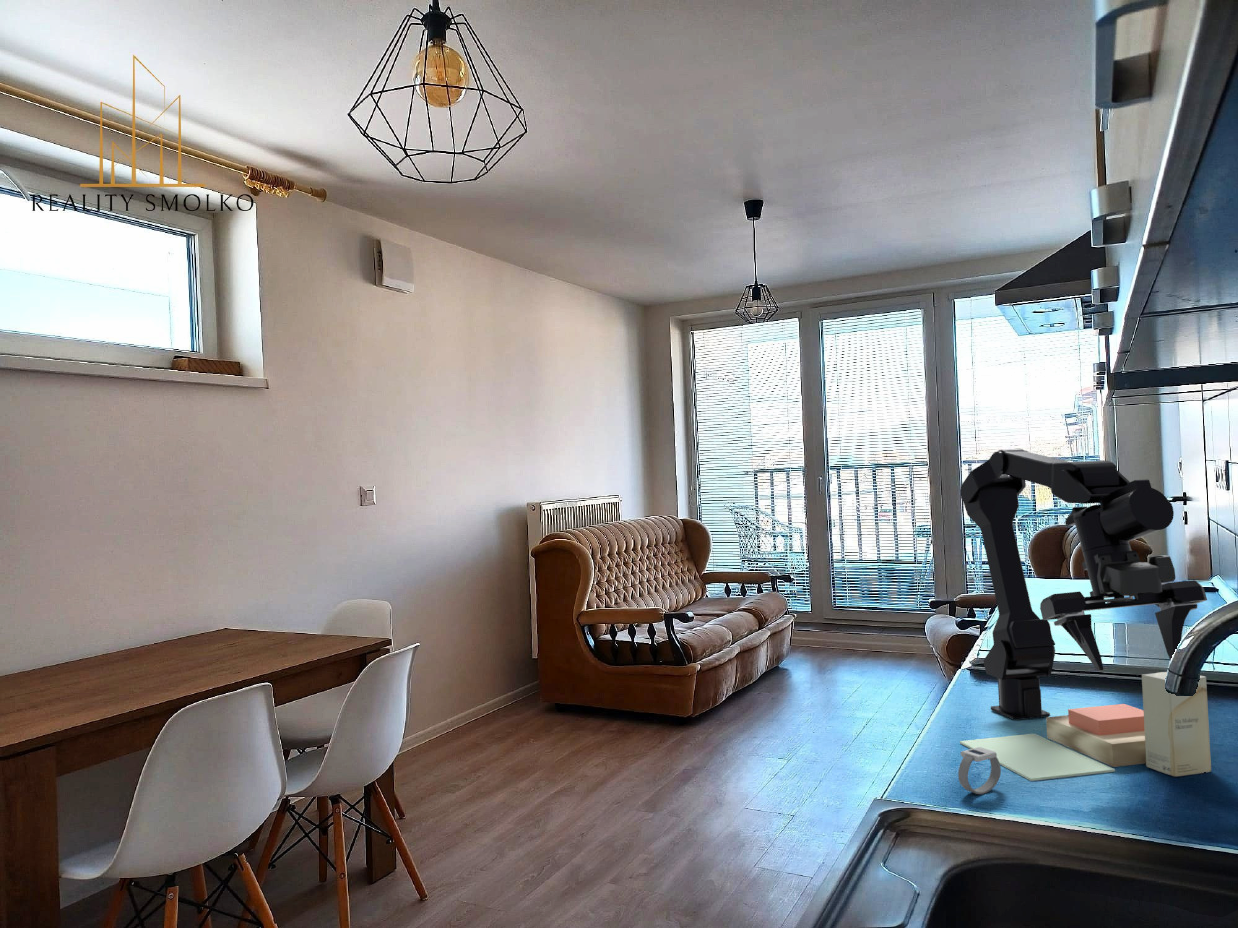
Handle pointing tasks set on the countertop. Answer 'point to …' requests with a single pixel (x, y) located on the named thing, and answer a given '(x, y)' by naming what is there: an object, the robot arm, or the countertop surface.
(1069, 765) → the mat
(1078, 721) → the salmon pink brick
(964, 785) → the wristwatch
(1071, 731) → the board
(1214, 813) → the countertop surface
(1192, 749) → the skincare box
